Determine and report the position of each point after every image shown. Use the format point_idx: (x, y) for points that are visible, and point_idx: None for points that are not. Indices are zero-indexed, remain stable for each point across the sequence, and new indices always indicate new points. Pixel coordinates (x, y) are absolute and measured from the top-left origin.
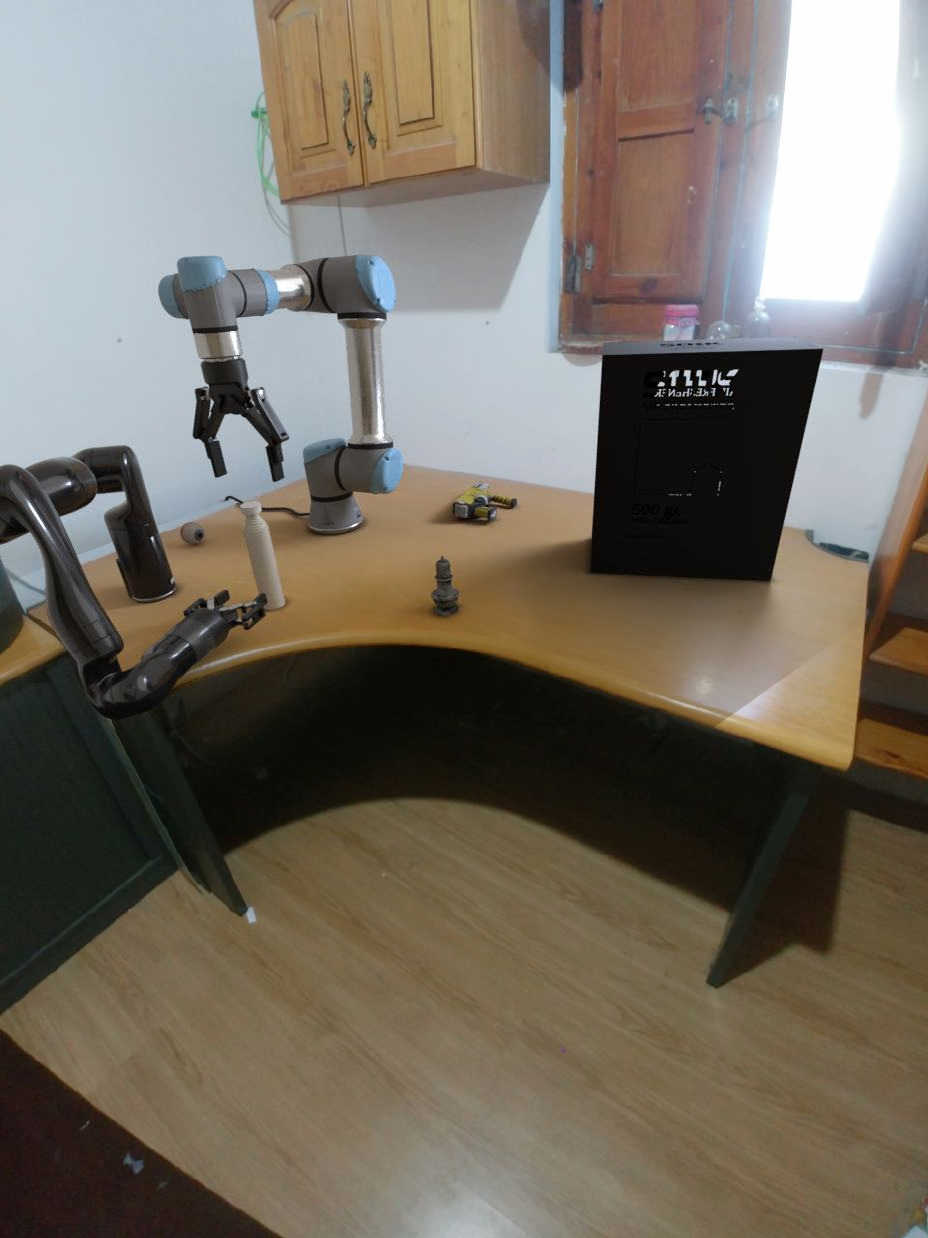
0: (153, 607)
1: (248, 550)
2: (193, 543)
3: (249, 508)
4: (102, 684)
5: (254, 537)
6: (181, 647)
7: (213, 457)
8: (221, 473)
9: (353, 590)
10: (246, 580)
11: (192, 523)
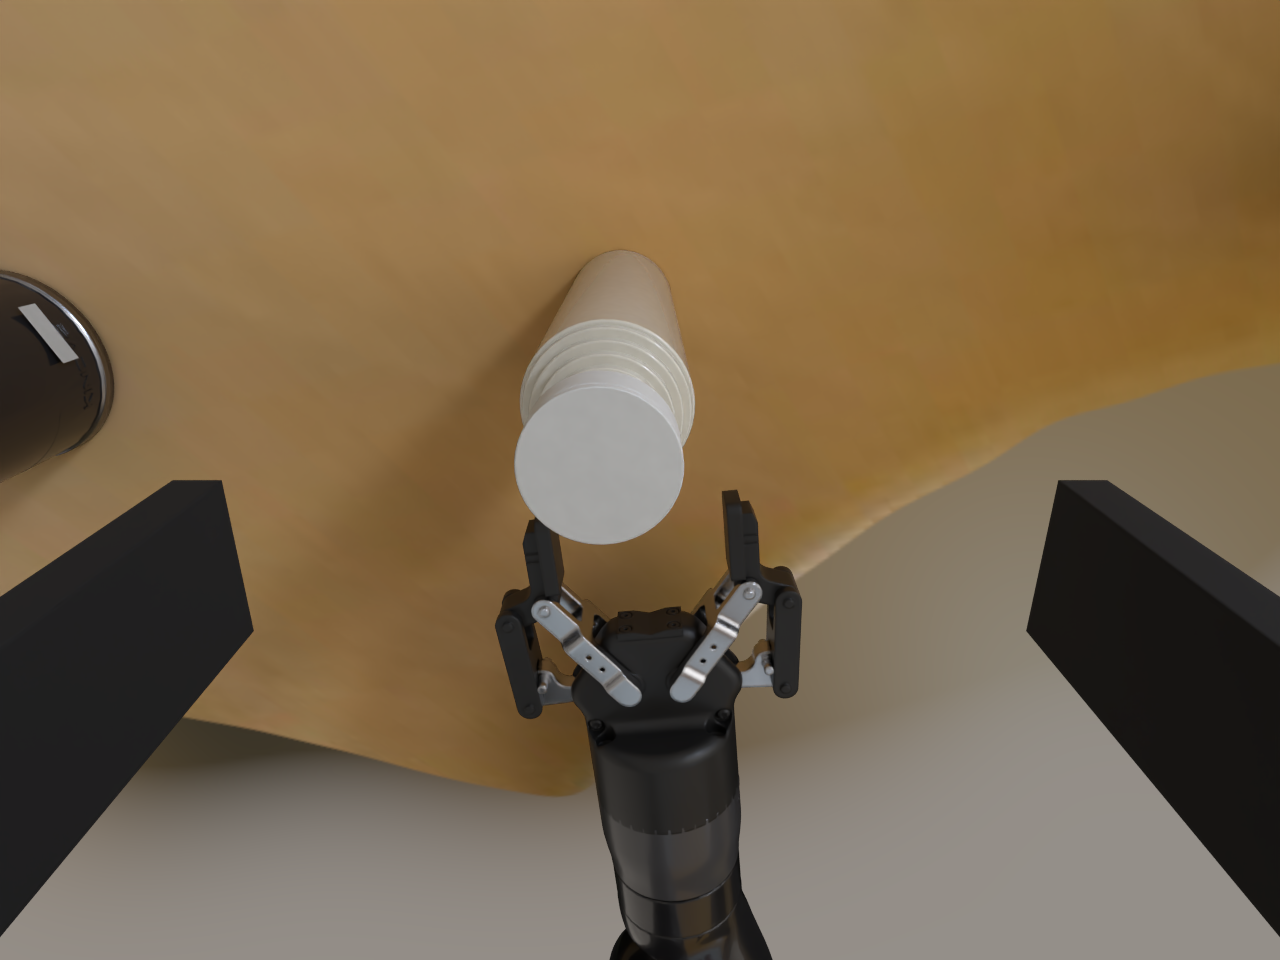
0: (139, 462)
1: None
2: None
3: (646, 530)
4: None
5: None
6: (729, 900)
7: (101, 796)
8: (224, 582)
9: (929, 60)
10: (311, 114)
11: None
